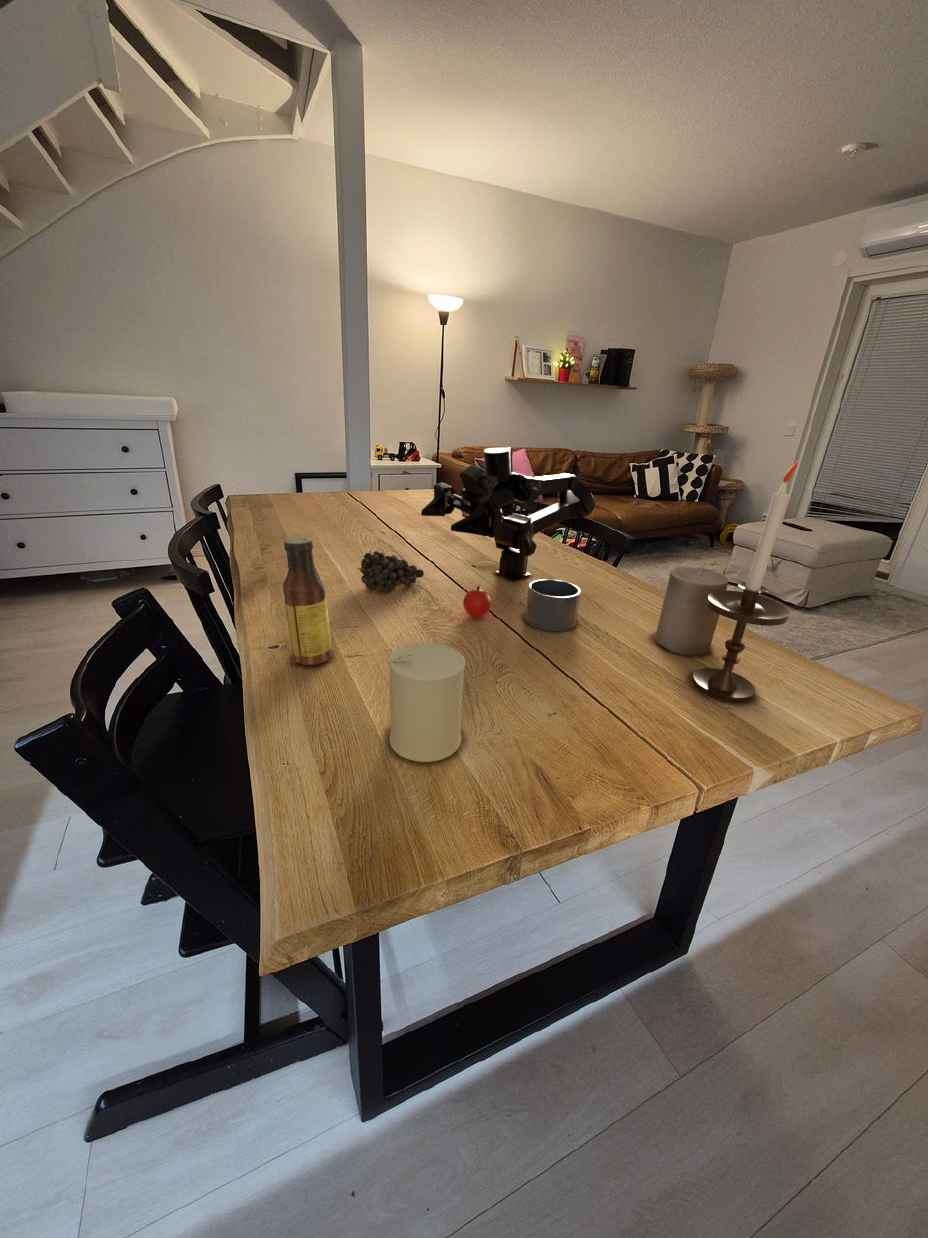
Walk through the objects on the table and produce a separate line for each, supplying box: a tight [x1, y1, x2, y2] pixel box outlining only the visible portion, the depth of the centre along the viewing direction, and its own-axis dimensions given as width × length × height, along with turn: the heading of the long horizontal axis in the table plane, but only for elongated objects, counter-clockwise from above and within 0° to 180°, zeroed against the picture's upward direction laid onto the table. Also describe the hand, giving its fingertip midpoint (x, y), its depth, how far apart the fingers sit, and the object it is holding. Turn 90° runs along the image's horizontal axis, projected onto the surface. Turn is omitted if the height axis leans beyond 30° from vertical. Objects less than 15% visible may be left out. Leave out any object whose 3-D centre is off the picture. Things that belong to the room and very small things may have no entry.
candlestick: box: [691, 459, 799, 704], centre depth 73 cm, size 11×11×35 cm
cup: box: [524, 578, 582, 632], centre depth 99 cm, size 10×10×7 cm
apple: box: [462, 585, 492, 618], centre depth 100 cm, size 6×6×6 cm
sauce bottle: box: [282, 536, 332, 666], centre depth 78 cm, size 7×6×20 cm
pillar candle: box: [654, 565, 729, 656], centre depth 91 cm, size 10×10×15 cm
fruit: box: [356, 550, 425, 593], centre depth 111 cm, size 9×8×15 cm
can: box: [388, 642, 466, 763], centre depth 62 cm, size 9×9×12 cm
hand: (436, 520), depth 102 cm, fingers open, 9 cm apart
